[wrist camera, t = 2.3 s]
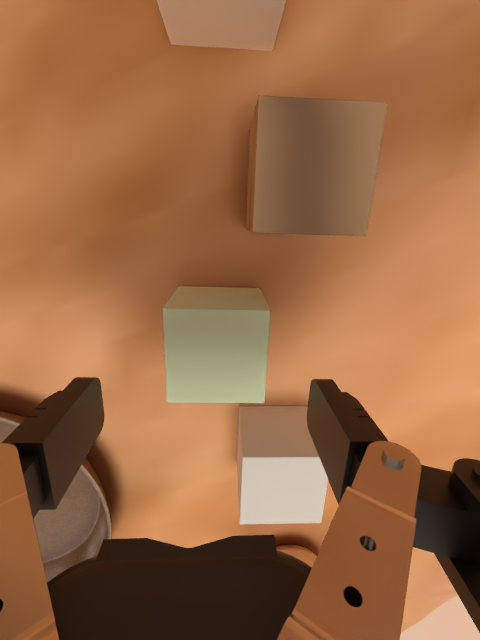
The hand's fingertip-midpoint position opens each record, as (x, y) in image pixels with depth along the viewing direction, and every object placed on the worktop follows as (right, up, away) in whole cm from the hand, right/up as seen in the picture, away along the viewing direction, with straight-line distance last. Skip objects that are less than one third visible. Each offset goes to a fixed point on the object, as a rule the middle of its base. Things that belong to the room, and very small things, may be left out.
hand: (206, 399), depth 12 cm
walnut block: (+4, +11, +6) cm, 13 cm away
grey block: (+4, -5, +11) cm, 13 cm away
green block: (0, +3, +8) cm, 9 cm away
